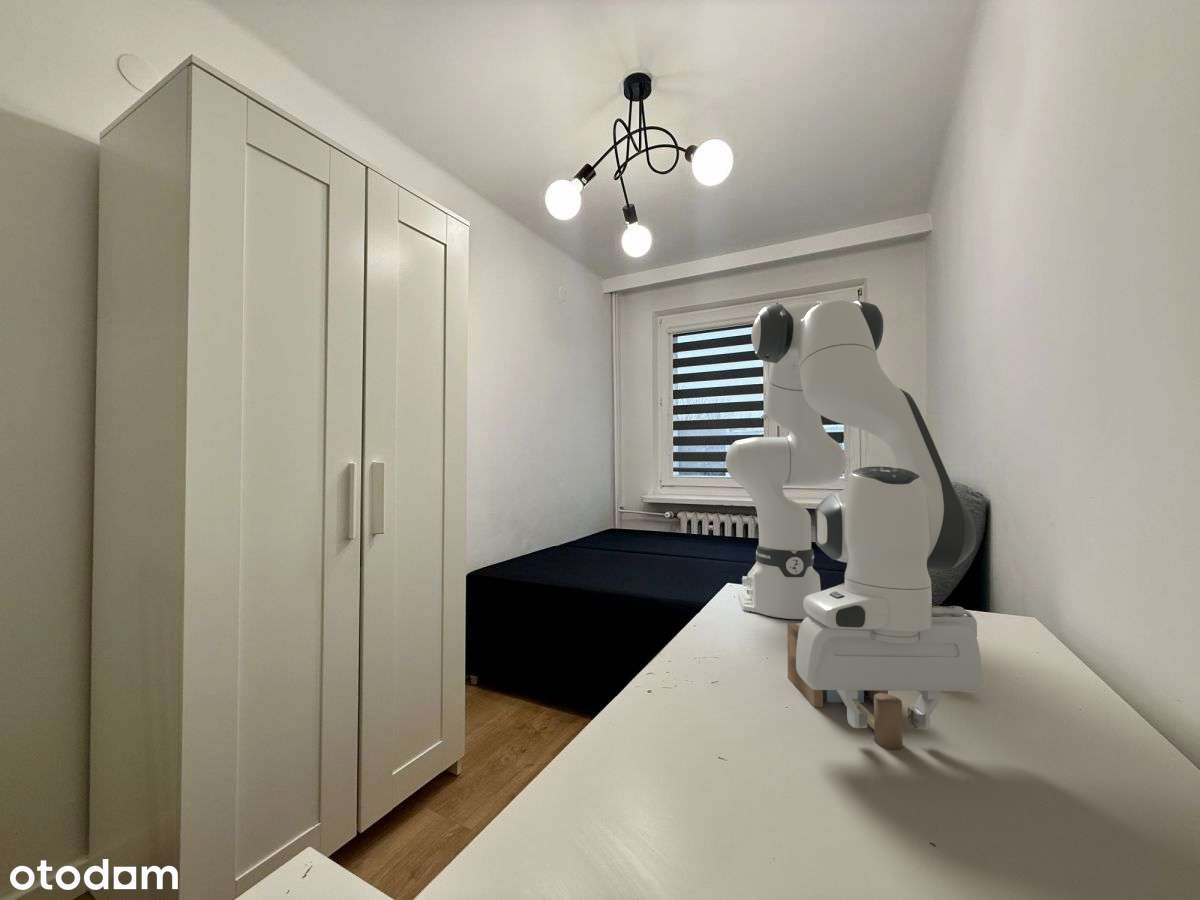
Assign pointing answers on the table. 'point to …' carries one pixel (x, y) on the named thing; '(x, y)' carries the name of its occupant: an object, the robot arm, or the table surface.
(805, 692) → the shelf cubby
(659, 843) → the table surface
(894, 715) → the block with stick handle
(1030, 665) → the table surface
